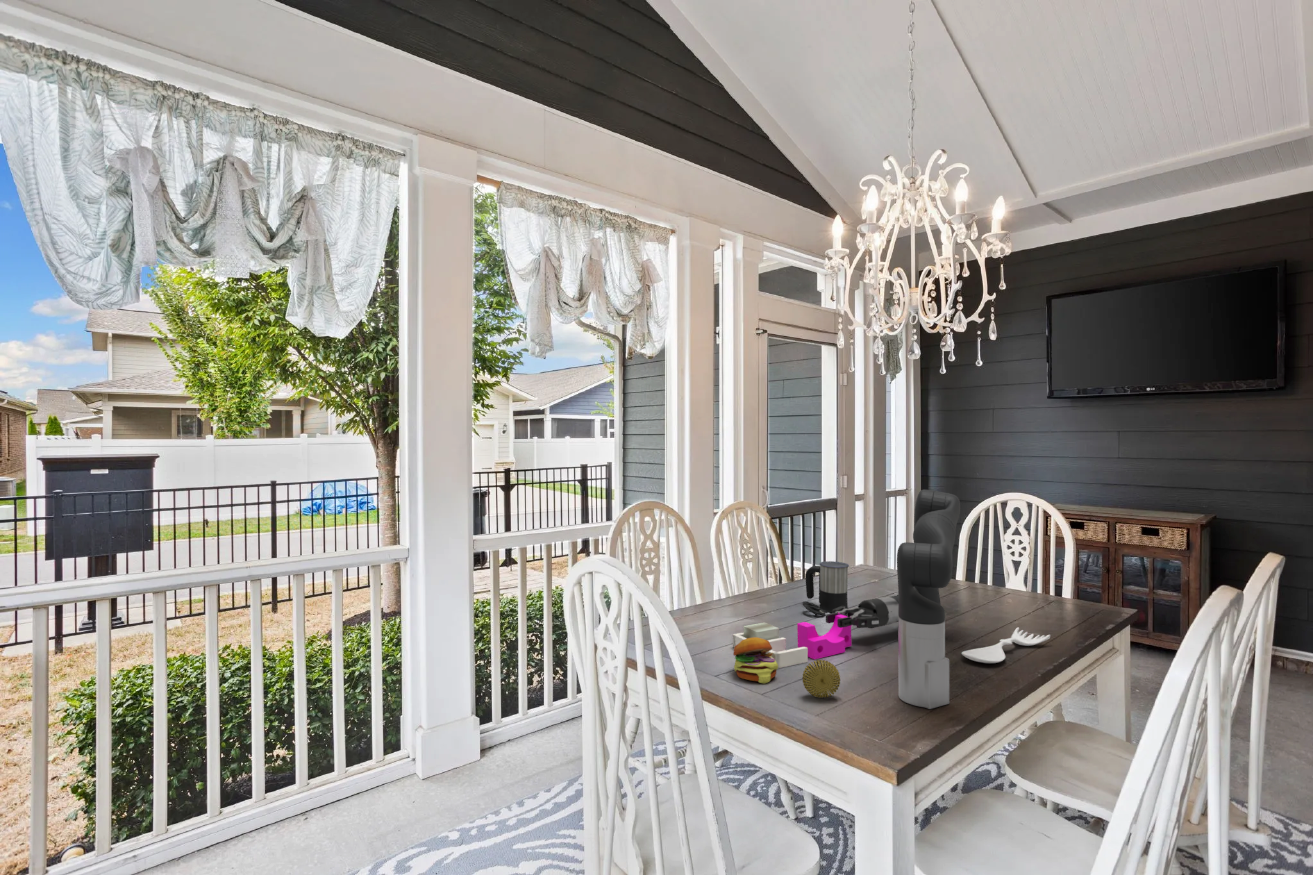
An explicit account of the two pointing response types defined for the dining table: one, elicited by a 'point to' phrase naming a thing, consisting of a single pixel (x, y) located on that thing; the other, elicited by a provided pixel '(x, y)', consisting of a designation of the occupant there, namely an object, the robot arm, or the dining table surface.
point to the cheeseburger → (754, 660)
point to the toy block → (824, 639)
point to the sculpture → (821, 678)
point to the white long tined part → (996, 651)
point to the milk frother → (828, 587)
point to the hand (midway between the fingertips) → (832, 621)
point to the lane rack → (780, 651)
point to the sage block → (761, 631)
